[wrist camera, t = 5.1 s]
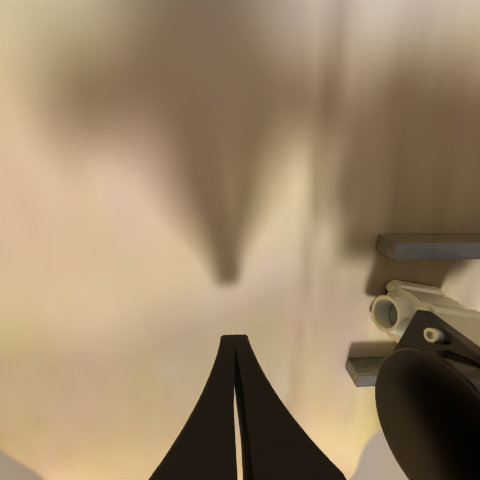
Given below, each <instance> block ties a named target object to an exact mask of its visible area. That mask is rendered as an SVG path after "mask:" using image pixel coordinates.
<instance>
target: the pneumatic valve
mask: <svg viewBox="0 0 480 480" xmlns="http://www.w3.org/2000/svg"><path fill="white" fill-rule="evenodd" d="M386 289H387V291H388V293H387V294H386V296H385V295H379V296H378V297H377V298H376V299H375V301H374V303H373V305H372V315H371V319H372V321H373V322H374V323H375V325H376V327H377V328H378V329H379V330H381V331H384V332H386V333H387V334H388V335H389V336H390V337H391V338H392V339H393V340H394V341H396V342H397V346H396V348H395V349H394V351H393V352H392V353H391V354H389V355H388V356H387V357H386V358H385V359H384V361H383V362H382V364H381V366H380V368H379V370H378V373H377V378H376V383H375V399H376V407H377V413H378V417H379V421H380V424H381V427H382V430H383V433H384V436H385V438H386V440H387V443H388V445H389V447H390V449H391V451H392V453H393V455H394V457H395V459H396V461H397V462H398V464H399V466H400V467H401V469H402V470H403V472H404V473H405V475H406V476H407V478H408V479H409V480H480V312H478V311H475V310H469V309H466V308H464V307H463V306H462V305H461V304H459V303H458V302H456V301H454V300H453V299H451V298H448V297H445V295H444V293H443V292H442V290H441V289H440V288H438V287H433V286H427V285H421V284H416V283H410V282H404V281H398V280H392V281H390V282H389V283H387V285H386Z"/></svg>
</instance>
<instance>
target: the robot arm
mask: <svg viewBox="0 0 480 480" xmlns="http://www.w3.org/2000/svg"><path fill="white" fill-rule="evenodd" d="M234 386H235V394H236V402H237V411H238V419H239V427H240V435H241V447H242V467H243V480H346V478H345V476H344V474H343V473H342V472H341V471H340V470H339V469H338V468H337V467H336V466H335V465H334V464H333V463H332V462H331V461H330V460H329V459H328V457H327V456H326V455H325V454H324V453H323V452H322V451H321V450H320V449H319V448H318V447H317V445H316V444H315V443H314V442H313V441H312V440H311V439H310V438H309V436H308V435H307V434H306V433H305V432H304V430H303V429H302V428H301V427H300V425H299V424H298V423H297V422H296V420H295V419H294V418H293V417H292V415H291V414H290V413H289V411H288V410H287V409H286V407H285V406H284V404H283V403H282V402H281V400H280V399H279V397H278V396H277V394H276V393H275V391H274V389H273V388H272V386H271V385H270V383H269V381H268V380H267V378H266V376H265V374H264V372H263V371H262V369H261V367H260V365H259V363H258V361H257V359H256V357H255V355H254V352H253V350H252V348H251V345H250V343H249V340H248V336H247V335H223V336H221V340H220V346H219V350H218V353H217V357H216V360H215V362H214V365H213V368H212V371H211V373H210V376H209V378H208V380H207V383H206V385H205V387H204V390H203V392H202V394H201V396H200V398H199V400H198V402H197V404H196V406H195V408H194V410H193V412H192V413H191V415H190V417H189V419H188V421H187V422H186V424H185V426H184V427H183V429H182V431H181V433H180V434H179V436H178V437H177V439H176V440H175V442H174V443H173V445H172V447H171V448H170V450H169V451H168V453H167V454H166V456H165V457H164V459H163V460H162V462H161V463H160V464H159V466H158V467H157V469H156V470H155V471H154V473H153V474H152V476H151V477H150V478H149V480H237V463H236V445H235V425H234Z"/></svg>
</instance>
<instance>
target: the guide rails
mask: <svg viewBox="0 0 480 480" xmlns="http://www.w3.org/2000/svg"><path fill="white" fill-rule="evenodd" d="M376 250H377V251H379V252H380V253H382V254H384V255H386V256H387V257H389V258H391V259H392V260H432V259H480V234H379V238H378V242H377V246H376ZM385 358H386V357H376V358H353V359H348V361H347V365H346V370H347V372H348V373H349V375H350V377H351V378H352V380H353V382H354V384H355V385H356V387H367V386H375V383H376V378H377V373H378V370H379V368H380V366H381V364H382V362H383V361H384V359H385Z"/></svg>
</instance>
